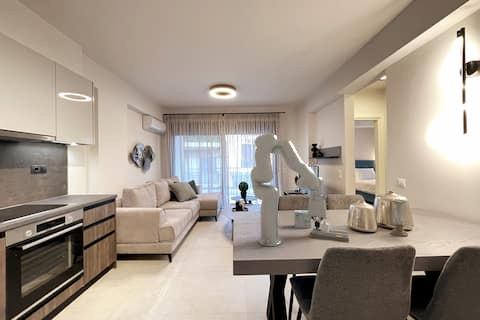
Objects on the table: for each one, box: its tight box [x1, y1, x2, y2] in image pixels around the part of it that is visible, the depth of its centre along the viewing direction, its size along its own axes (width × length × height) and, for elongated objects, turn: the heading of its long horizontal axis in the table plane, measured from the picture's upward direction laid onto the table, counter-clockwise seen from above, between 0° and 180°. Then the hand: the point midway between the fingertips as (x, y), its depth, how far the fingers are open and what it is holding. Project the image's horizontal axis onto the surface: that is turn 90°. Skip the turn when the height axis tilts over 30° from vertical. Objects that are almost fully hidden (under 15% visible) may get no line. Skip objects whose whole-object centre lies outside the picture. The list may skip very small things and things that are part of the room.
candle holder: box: [389, 199, 409, 237], centre depth 137 cm, size 9×9×20 cm
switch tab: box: [320, 221, 330, 232], centre depth 135 cm, size 4×4×6 cm
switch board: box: [310, 227, 350, 243], centre depth 134 cm, size 12×20×3 cm, turn 66°
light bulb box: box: [293, 209, 312, 229], centre depth 155 cm, size 11×7×11 cm, turn 84°
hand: (317, 228), depth 137 cm, fingers closed
